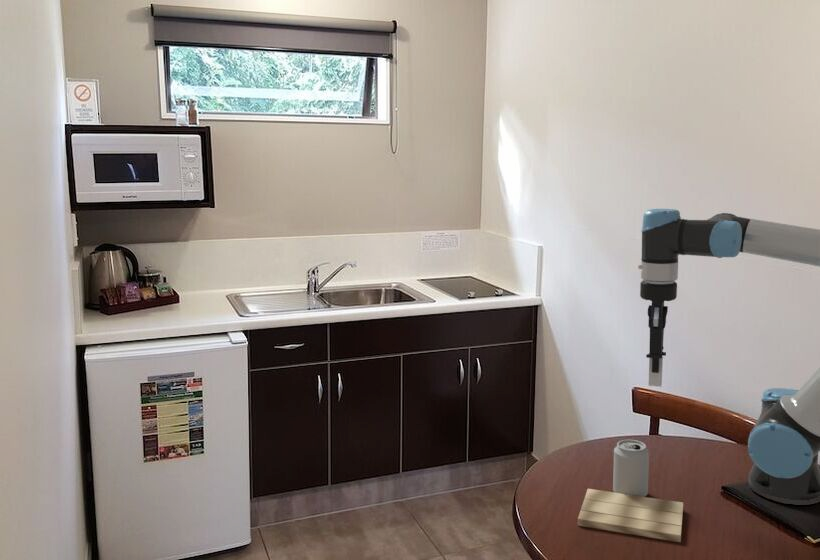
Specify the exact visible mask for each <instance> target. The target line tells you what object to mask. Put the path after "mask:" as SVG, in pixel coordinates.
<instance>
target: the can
mask: <svg viewBox="0 0 820 560" xmlns="http://www.w3.org/2000/svg"><path fill="white" fill-rule="evenodd" d="M649 466H650V451H649V450H648V449H647V445H646V443H644V442H643V441H640V440H636V439H622V440H619V441H618V442H617V443H616V446H615V447H614V449H613V470H612V471H613V474H612V475H613V477H612V478H613V479H612V482H613V483H612V492H615V493H621V494H628V495H635V496H642V497H647V496H648V492H649V471H650V468H649Z"/></svg>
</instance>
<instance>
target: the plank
mask: <svg viewBox="0 0 820 560" xmlns="http://www.w3.org/2000/svg"><path fill="white" fill-rule="evenodd" d="M581 510H587V511H593V512H600V513H606V514H612V515H619V516H625V517H631V518H638V519H644V520H650V521H656V522H663V523H669V524H675V525H682V526H683V514H684V513H683V512H684V502H683V501H682V502H681V501H674V500H669V499H662V498H656V497H655V498H654V497H647V496H645V497H642V496H635V495H628V494H621V493H615V492H614V491H607V490H600V489H593V488H587V490H586V493H585V496H584V500H583V502H582V505H581V508H580V511H581ZM681 531H682V529H681Z"/></svg>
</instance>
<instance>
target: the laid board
mask: <svg viewBox="0 0 820 560" xmlns="http://www.w3.org/2000/svg"><path fill="white" fill-rule="evenodd" d="M577 526H578V527H585V528H591V529H596V530H604V531H610V532H616V533H620V534H621V533H622V534H627V535H634V536H640V537H645V538H652V539H659V540H662V541H663V540H664V541H670V542H676V543H681V542H682V530H681V529H682V528H683V524H682V525H675V524H669V523H663V522H656V521H650V520H644V519H638V518H631V517H625V516H619V515H612V514H606V513H600V512H593V511H587V510H581V509H580V511H579V514H578V517H577Z"/></svg>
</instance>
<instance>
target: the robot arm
mask: <svg viewBox="0 0 820 560" xmlns="http://www.w3.org/2000/svg"><path fill="white" fill-rule="evenodd" d="M680 213H681V212H680V211H679V210H678V209H676V208H675V209H674V208H651V209H647V210H646V211H644V213H643V216H642V217H643V218H642V229H641V259H640V260H641V263H640V264H639V265H638V266H637V269H639V270H641V271H640V278H641V279H642V280H641V281H640V285H639V287H640V288H639V289H640V291H639V297H640V298H641V299H642V300H645V301H649V302H650V301H651V305H650V304H649V305H648V308H647V316H648V325H647V326H648V328H649V353H647V354H646V355H645V357H646V358H647V359H649V360H648V361H649V363H648V386H650V387H662V385H663V365H664V364H663V363H664V362H663V361H664V360H663V359H664V356H665V357H666V356H667V352H666V351H665V352H664V334H665V333H664V332H665V327H666V324H667V315H668V310H669V309H668V308H669V307H668V305H667V306H666V305H665V301H666V302H671V301H675V300H676V299H677V294H678V283H677V282H676V281H677V280H678V277H679V275H678V274H679V256H697V257H710V258H711V257H713V258H717V259H721V258H736V257H737V256H739V254H740V253H743V254H749V255H756V256H761V257H765V258H771V259H778V260H780V261H781V260H782V261H787V262H793V263H800V264H803V265H810V266H814V267H820V229H818V228H813V227H807V226H805V227H804V226H799V225H793V224H787V223H780V222H775V221H774V222H773V221H767V220H760V219H755V218H747V217H741V216H737V215H735V214H734V213H730V212H729V213H728V212H727V213H726V212H722V213H717V214H715V215H713V216H712V217H710V218H708V219H685V218H681V214H680ZM800 387H801V388H799V389H794V388H783V387H782V388H781V387H779V388H778V387H775V388H774V387H773V388H772V387H771V388H767V389H765V390H764V391H763V392H762V397H761V399H760V401H761V402H762V403H761V410H760V415H759V417H758V418H757V421H756V423H755V424H754V426H753V428H752V429H751V431H750V433H749V435H748V438H747V450H748V454H749V457H750V460H752V462H753V465H752V467H751V469H750V472H749V474H748V482H749V484H750V485H751V486H752V487H753V488H755V489H756V490H758V491H760V492H762V493H765V494H768V495H771V496H775V497H778V498H784V499H790V500H810V499H814V498H817V497H818V496H820V466H819V452H820V367H819V368H818V369H817V370H816V371H815V372H814V373H813V375H811V376H810V377H809V379H807V381H806V382H805V383H804V384H803V386H800Z"/></svg>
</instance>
